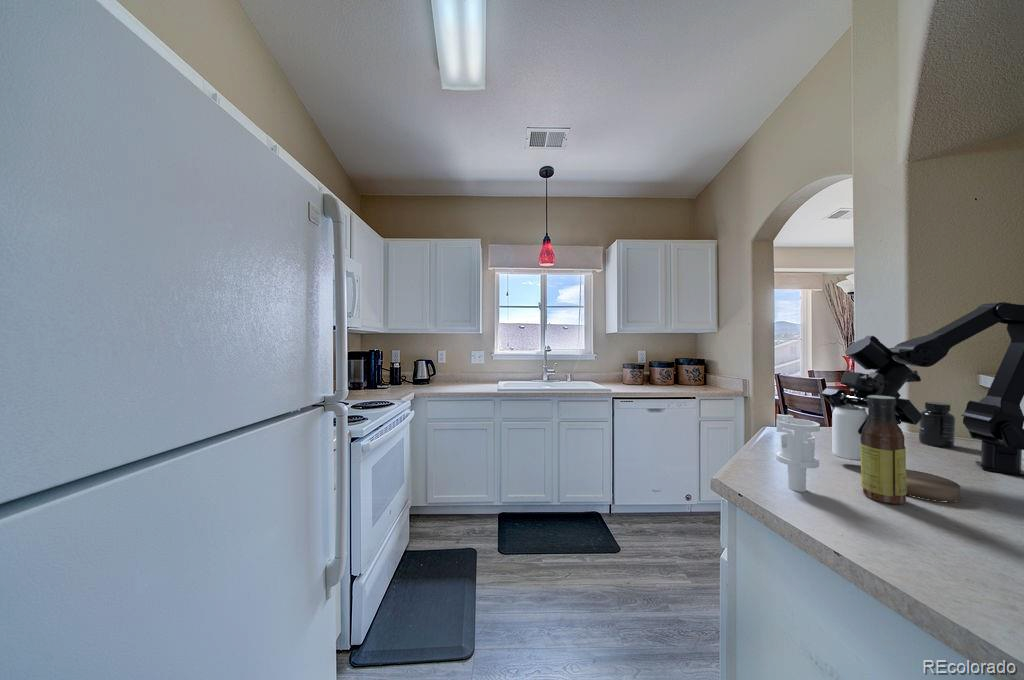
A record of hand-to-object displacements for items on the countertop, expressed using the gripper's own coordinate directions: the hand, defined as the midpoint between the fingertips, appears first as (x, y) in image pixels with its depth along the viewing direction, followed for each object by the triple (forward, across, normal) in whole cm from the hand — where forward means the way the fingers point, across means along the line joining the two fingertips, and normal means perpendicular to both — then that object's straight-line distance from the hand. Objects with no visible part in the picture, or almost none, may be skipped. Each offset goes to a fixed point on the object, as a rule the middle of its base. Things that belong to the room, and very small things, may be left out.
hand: (845, 429), depth 90 cm
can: (+4, 0, +6) cm, 7 cm away
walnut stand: (+6, +14, +6) cm, 17 cm away
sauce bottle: (+14, +16, -2) cm, 22 cm away
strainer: (+23, +10, -10) cm, 27 cm away
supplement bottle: (-24, -11, +38) cm, 46 cm away
